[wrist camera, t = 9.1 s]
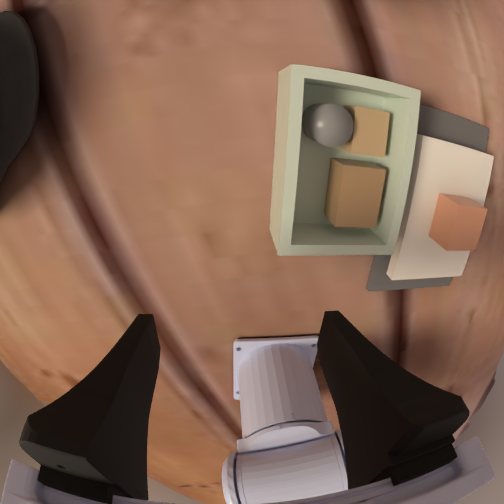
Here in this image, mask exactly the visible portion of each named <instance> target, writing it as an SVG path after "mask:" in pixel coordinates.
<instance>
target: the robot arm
mask: <svg viewBox="0 0 504 504" xmlns="http://www.w3.org/2000/svg"><path fill="white" fill-rule="evenodd" d="M312 344H313V345H312ZM238 347H240V348H238ZM317 351H318V354H319V359H320V363H321V367H322V370H323V373H324V376H325V378H326V381H327V384H328V387H329V390H330V393H331V395H332V398H333V401H334V404H335V407H336V411H337V415H338V419H339V424H340V430H336V431H335V432H334V429H333V425H332V422H331V421H328V419H327V415H326V412H325V408H324V405H323V401H322V398H321V394H320V391H319V388H318V384H317V381H316V377H315V374H314V371H313V365H314V362H315V358H316V354H317ZM159 359H160V344H159V340H158V335H157V331H156V326H155V322H154V317H153V314H139V315H138V316H137V317H136V318H135V320H134V321H133V322H132V324H131V325H130V326H129V328H128V329H127V330H126V332H125V333H124V334H123V336H122V337H121V338H120V339H119V341H118V342H117V343H116V344H115V346H114V347H113V348H112V349H111V351H110V352H109V353H108V354H107V355H106V356H105V357H104V359H103V360H102V361H101V362H100V363H99V364H98V365H97V366H96V367H95V368H94V369H93V370H92V371H91V372H90V373H89V374H88V375H87V376H86V377H85V378H84V379H83V380H82V381H80V382H79V383H78V384H77V385H76V386H74V387H73V388H72V389H71V390H69V391H68V392H67V393H66V394H64V395H63V396H61V397H60V398H58V399H57V400H55V401H54V402H52V403H51V404H49V405H47V406H46V407H44V408H42V409H40V410H38V411H37V412H35V413H33V414H31V415H29V416H28V418H27V420H26V423H25V425H24V428H23V431H22V435H21V438H20V441H19V444H20V446H21V448H22V449H23V450H24V451H25V452H26V453H27V454H28V455H30V456H31V457H32V458H33V459H34V460H36V461H37V462H38V463H39V464H40V465H41V467H40V471H39V470H37V469H35V468H33V467H31V466H28V465H26V464H24V463H21V462H19V461H16V460H14V459H12V460H11V463H10V467H9V470H8V474H7V478H6V482H5V486H4V491H3V495H2V500H1V504H174V503H163V502H154V501H147V500H148V486H147V436H148V421H149V413H150V408H151V403H152V398H153V393H154V388H155V384H156V379H157V374H158V369H159ZM234 399H236V400H240V408H241V422H242V435H243V439H240V440H237V450H238V451H235V452H231V453H230V454H229V455H228V457H227V459H226V460H225V461H224V464H223V468H222V486H223V492H224V497H225V500H226V503H227V504H455V503H457V502H458V501H460V500H462V499H463V498H465V497H467V496H468V495H470V494H472V493H473V492H475V491H476V490H478V489H479V488H481V487H483V486H484V485H485V484H487V483H488V482H490V481H491V480H493V479H494V478H495V477H496V475H495V472H494V470H493V468H492V466H491V464H490V461H489V459H488V457H487V455H486V453H485V451H484V449H483V447H482V445H481V443H480V440H479V438H478V437H477V436H476V437H473V438H472V439H470V440H468V441H466V442H464V443H462V444H460V445H458V446H457V447H455V448H453V445H452V443H453V442H454V441H455V439H454V437H453V435H452V434H453V433H454V432H455V431H456V430H457V429H458V428H459V427H460V426H461V425H462V424H463V423H464V422H465V421H466V420H467V418H468V417H469V410H468V408H467V406H466V404H465V403H464V401H463V399H462V398H461V396H458V395H455V394H453V393H450V392H447V391H444V390H442V389H440V388H438V387H435V386H433V385H431V384H429V383H427V382H425V381H423V380H421V379H420V378H418V377H416V376H415V375H413V374H411V373H410V372H408V371H406V370H405V369H403V368H402V367H401V366H399V365H398V364H396V363H395V362H394V361H392V360H391V359H390V358H388V357H387V356H386V355H385V354H383V353H382V352H381V351H380V350H379V349H377V348H376V347H375V346H374V345H373V344H372V343H371V342H370V341H369V340H367V339H366V338H365V337H364V336H363V335H362V334H361V333H360V332H359V331H358V330H357V329H356V328H355V327H354V326H353V325H352V324H351V323H350V322H349V321H348V320H347V319H346V318H345V317H344V316H343V315H342V314H341V313H340V312H339V311H325V313H324V318H323V322H322V326H321V330H320V334H319V336H300V337H282V338H258V339H237V340H235V341H234Z"/></svg>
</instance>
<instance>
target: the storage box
mask: <svg viewBox="0 0 504 504" xmlns="http://www.w3.org/2000/svg"><path fill="white" fill-rule="evenodd" d="M420 95H421V91H420V90H417V89H414V88H411V87H407V86H404V85H400V84H396V83H393V82H389V81H385V80H381V79H377V78H373V77H368V76H364V75H359V74H354V73H349V72H344V71H338V70H332V69H326V68H319V67H312V66H305V65H296V64H291V65H289V66H287V67H286V68H284V69H282V70H281V71H279V73H278V94H277V113H276V131H275V149H274V165H273V182H272V197H271V212H270V227H269V229H270V232H271V235H272V238H273V241H274V244H275V247H276V250H277V253H278V256H279V255H393V253H394V249H395V246H396V242H397V238H398V234H399V229H400V225H401V221H402V216H403V212H404V207H405V202H406V197H407V192H408V187H409V182H410V176H411V170H412V164H413V158H414V151H415V144H416V136H417V127H418V118H419V107H420Z"/></svg>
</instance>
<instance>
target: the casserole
mask: <svg viewBox="0 0 504 504" xmlns="http://www.w3.org/2000/svg"><path fill="white" fill-rule="evenodd" d="M38 102H39V64H38V55H37V48H36V45H35V42H34V38H33V35H32V32H31V30H30V28H29V26H28V25H27V23H26V21H25V19H24V18H23V17H22V16H20V15H19V14H18V13H17V12H15V11H4V12H2V13H0V184H1V181H2V179H3V177H4V174H5V172H6V170H7V168H8V167H9V165H10V164H11V163H12V161H13V160H14V159H15V157H16V156H17V154H18V153H19V152H20V150H21V149H22V147H23V146H24V144H25V143H26V141H27V140H28V139H29V137H30V135H31V132H32V129H33V126H34V123H35V120H36V118H37V109H38Z"/></svg>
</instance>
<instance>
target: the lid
mask: <svg viewBox="0 0 504 504" xmlns="http://www.w3.org/2000/svg"><path fill="white" fill-rule="evenodd" d="M493 159H494V156H492V155H489V154H486V153H483V152H480V151H477V150H474V149H471V148H468V147H465V146H461V145H458V144H454V143H451V142H447V141H444V140H440V139H436V138H432V137H428V136H424V135H420V134H417V136H416V144H415V151H414V158H413V164H412V170H411V176H410V182H409V187H408V192H407V197H406V202H405V207H404V212H403V216H402V221H401V225H400V229H399V234H398V238H397V242H396V246H395V249H394V253H393V255H391V259H390V263H389V266H388V270H387V273H386V274H387V275H388V276H389V278H390V279H391V280H406V279H424V278H439V277H454V276H462V273H463V270H464V268H465V265H466V262H467V259H468V257H469V254H470V251H475V250H476V247H477V244H478V241H479V238H480V235H481V231H482V228H483V224H484V221H485V217H486V214H487V210H488V209H487V208H485V207H484V203H485V199H486V194H487V190H488V185H489V181H490V176H491V171H492V165H493Z"/></svg>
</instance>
